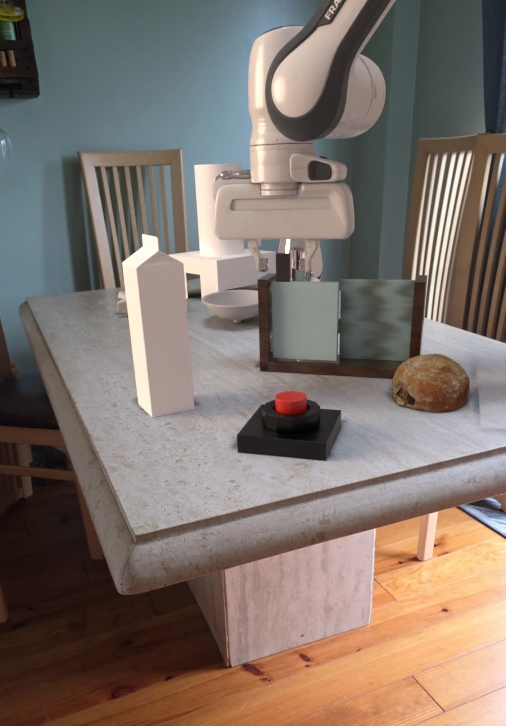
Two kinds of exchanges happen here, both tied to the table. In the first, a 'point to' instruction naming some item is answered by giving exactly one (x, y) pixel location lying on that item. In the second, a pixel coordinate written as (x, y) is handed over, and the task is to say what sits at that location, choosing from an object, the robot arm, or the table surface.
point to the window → (303, 316)
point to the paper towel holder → (218, 244)
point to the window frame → (358, 328)
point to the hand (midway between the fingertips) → (283, 271)
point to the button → (291, 402)
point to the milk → (159, 329)
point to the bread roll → (430, 383)
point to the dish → (233, 304)
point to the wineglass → (300, 251)
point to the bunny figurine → (122, 302)
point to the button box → (290, 432)
